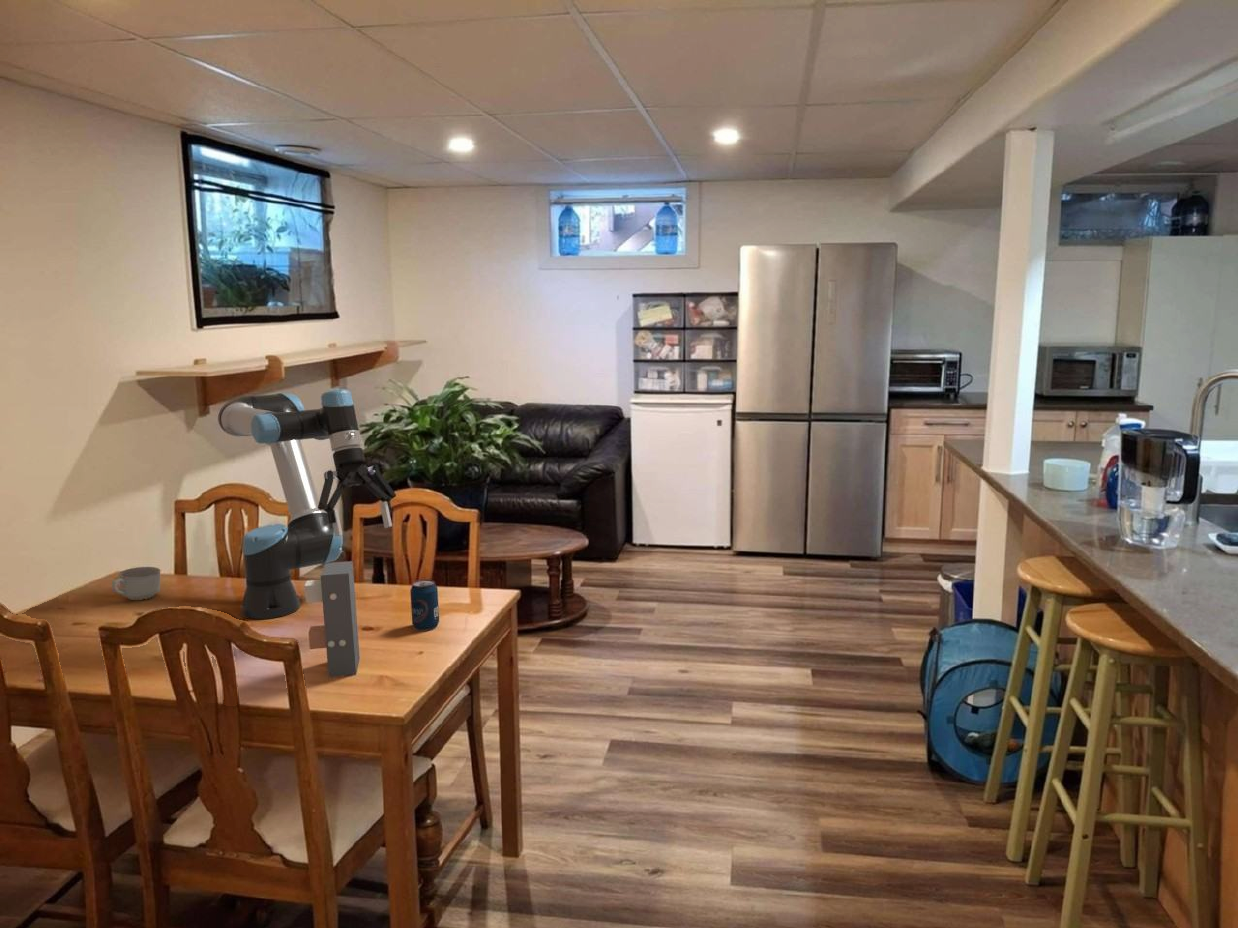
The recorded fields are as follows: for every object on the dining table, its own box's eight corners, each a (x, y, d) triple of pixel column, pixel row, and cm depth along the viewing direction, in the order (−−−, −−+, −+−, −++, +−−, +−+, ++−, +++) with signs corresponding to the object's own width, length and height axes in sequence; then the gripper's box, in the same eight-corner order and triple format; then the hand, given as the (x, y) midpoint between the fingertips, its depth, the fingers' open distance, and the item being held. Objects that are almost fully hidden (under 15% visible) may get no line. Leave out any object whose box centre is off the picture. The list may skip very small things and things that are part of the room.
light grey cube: (305, 602, 198) (304, 585, 197) (308, 597, 202) (307, 580, 201) (324, 601, 199) (323, 584, 198) (326, 595, 203) (325, 579, 202)
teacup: (151, 589, 266) (148, 563, 265) (170, 595, 260) (167, 569, 259) (103, 601, 255) (100, 575, 254) (121, 608, 249) (118, 581, 248)
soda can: (407, 629, 228) (404, 585, 226) (422, 620, 234) (419, 577, 232) (430, 632, 226) (427, 587, 224) (444, 623, 232) (442, 580, 230)
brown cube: (309, 649, 200) (308, 632, 199) (312, 642, 204) (310, 626, 203) (328, 647, 201) (326, 630, 200) (330, 641, 205) (328, 624, 204)
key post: (328, 678, 198) (320, 576, 194) (333, 660, 209) (325, 563, 204) (356, 675, 200) (348, 574, 196) (359, 658, 210) (352, 561, 206)
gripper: (305, 451, 213) (323, 537, 211) (398, 441, 230) (414, 521, 228) (293, 458, 218) (310, 541, 216) (384, 448, 235) (401, 525, 233)
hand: (364, 531), depth 222 cm, fingers open, 13 cm apart
